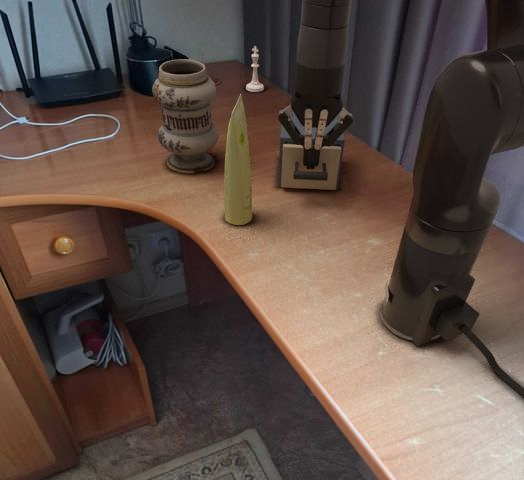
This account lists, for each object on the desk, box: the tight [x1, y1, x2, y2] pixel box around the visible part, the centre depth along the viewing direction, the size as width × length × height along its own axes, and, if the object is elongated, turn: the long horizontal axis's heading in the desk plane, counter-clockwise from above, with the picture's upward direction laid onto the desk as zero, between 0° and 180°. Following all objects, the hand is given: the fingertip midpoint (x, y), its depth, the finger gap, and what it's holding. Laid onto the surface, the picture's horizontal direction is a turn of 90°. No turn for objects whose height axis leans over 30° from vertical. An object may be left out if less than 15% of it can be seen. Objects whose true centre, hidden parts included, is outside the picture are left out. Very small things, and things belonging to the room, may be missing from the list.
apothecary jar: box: [151, 58, 220, 175], centre depth 91 cm, size 12×12×18 cm
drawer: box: [280, 142, 341, 191], centre depth 89 cm, size 17×10×8 cm, turn 176°
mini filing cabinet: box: [277, 112, 346, 191], centre depth 92 cm, size 13×12×10 cm
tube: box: [223, 93, 253, 226], centre depth 76 cm, size 6×5×20 cm
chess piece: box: [245, 45, 265, 93], centre depth 124 cm, size 5×5×10 cm
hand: (310, 167), depth 84 cm, fingers closed
